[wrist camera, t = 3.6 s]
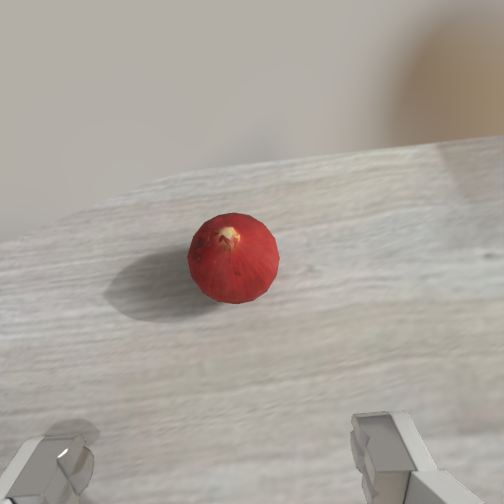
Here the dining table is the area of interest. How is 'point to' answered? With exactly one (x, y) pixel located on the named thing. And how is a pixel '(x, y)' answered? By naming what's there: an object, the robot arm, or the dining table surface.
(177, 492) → the dining table surface
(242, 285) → the red pomegranate
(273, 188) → the dining table surface
